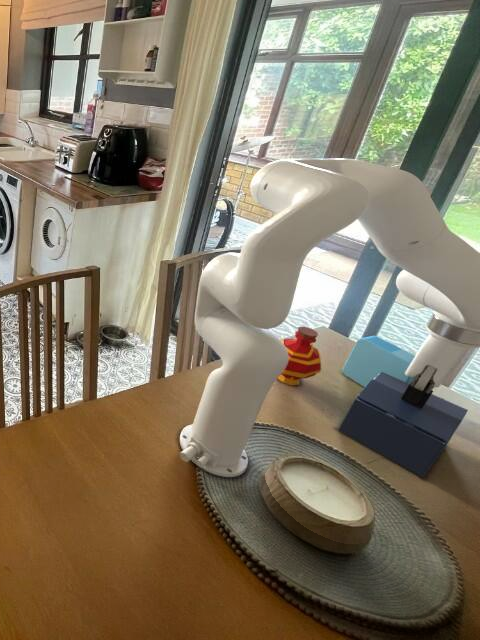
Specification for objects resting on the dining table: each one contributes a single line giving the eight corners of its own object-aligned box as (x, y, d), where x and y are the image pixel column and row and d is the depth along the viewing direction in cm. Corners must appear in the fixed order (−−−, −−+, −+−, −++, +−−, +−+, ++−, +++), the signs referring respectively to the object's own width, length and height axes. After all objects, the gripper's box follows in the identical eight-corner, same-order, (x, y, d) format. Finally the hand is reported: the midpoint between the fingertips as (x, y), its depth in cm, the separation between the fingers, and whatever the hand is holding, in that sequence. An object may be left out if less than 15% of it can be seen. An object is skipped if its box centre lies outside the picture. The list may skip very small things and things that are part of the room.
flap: (447, 442, 77) (448, 441, 77) (356, 397, 88) (357, 396, 88) (461, 421, 80) (462, 420, 80) (371, 380, 91) (372, 378, 90)
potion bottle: (320, 395, 102) (344, 346, 95) (274, 389, 104) (294, 341, 97) (298, 367, 111) (319, 321, 105) (256, 362, 113) (274, 316, 106)
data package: (405, 401, 100) (429, 362, 95) (393, 405, 99) (416, 366, 94) (352, 369, 110) (371, 333, 105) (340, 372, 109) (358, 335, 104)
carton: (422, 478, 81) (448, 441, 77) (338, 430, 92) (356, 396, 88) (443, 444, 89) (468, 410, 84) (362, 404, 99) (381, 371, 95)
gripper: (440, 308, 83) (399, 378, 91) (417, 331, 76) (375, 405, 84) (496, 326, 77) (448, 399, 85) (477, 353, 70) (426, 430, 78)
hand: (412, 402), depth 84 cm, fingers closed
